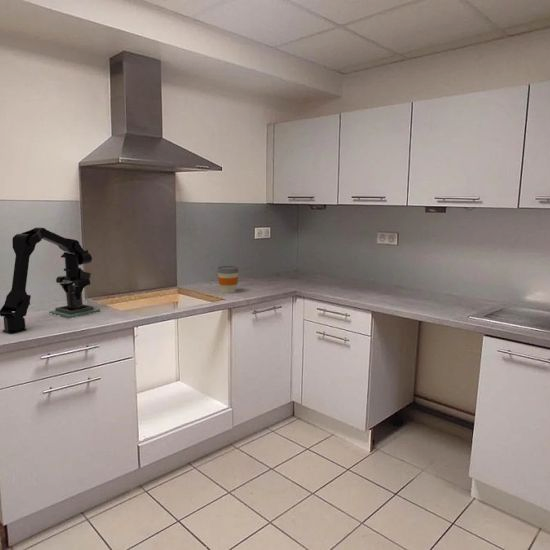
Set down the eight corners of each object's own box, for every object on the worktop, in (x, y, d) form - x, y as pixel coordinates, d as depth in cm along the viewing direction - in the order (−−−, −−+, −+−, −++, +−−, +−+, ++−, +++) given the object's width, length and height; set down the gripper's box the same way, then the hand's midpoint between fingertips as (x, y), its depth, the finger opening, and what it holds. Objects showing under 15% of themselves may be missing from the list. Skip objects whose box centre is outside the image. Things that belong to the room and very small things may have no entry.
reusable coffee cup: (237, 294, 254) (237, 269, 251) (216, 293, 254) (216, 268, 251) (239, 290, 266) (239, 266, 264) (219, 289, 266) (218, 265, 264)
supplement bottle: (64, 310, 205) (62, 286, 203) (77, 308, 210) (75, 284, 209) (73, 311, 201) (70, 286, 200) (86, 309, 207) (83, 284, 205)
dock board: (69, 318, 195) (68, 313, 195) (49, 313, 204) (48, 308, 203) (99, 311, 209) (99, 306, 208) (79, 306, 217) (79, 302, 217)
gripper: (99, 265, 204) (101, 297, 207) (75, 262, 214) (77, 293, 217) (78, 268, 195) (80, 302, 198) (54, 265, 205) (56, 297, 207)
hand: (74, 298), depth 205 cm, fingers closed on supplement bottle, 6 cm apart
